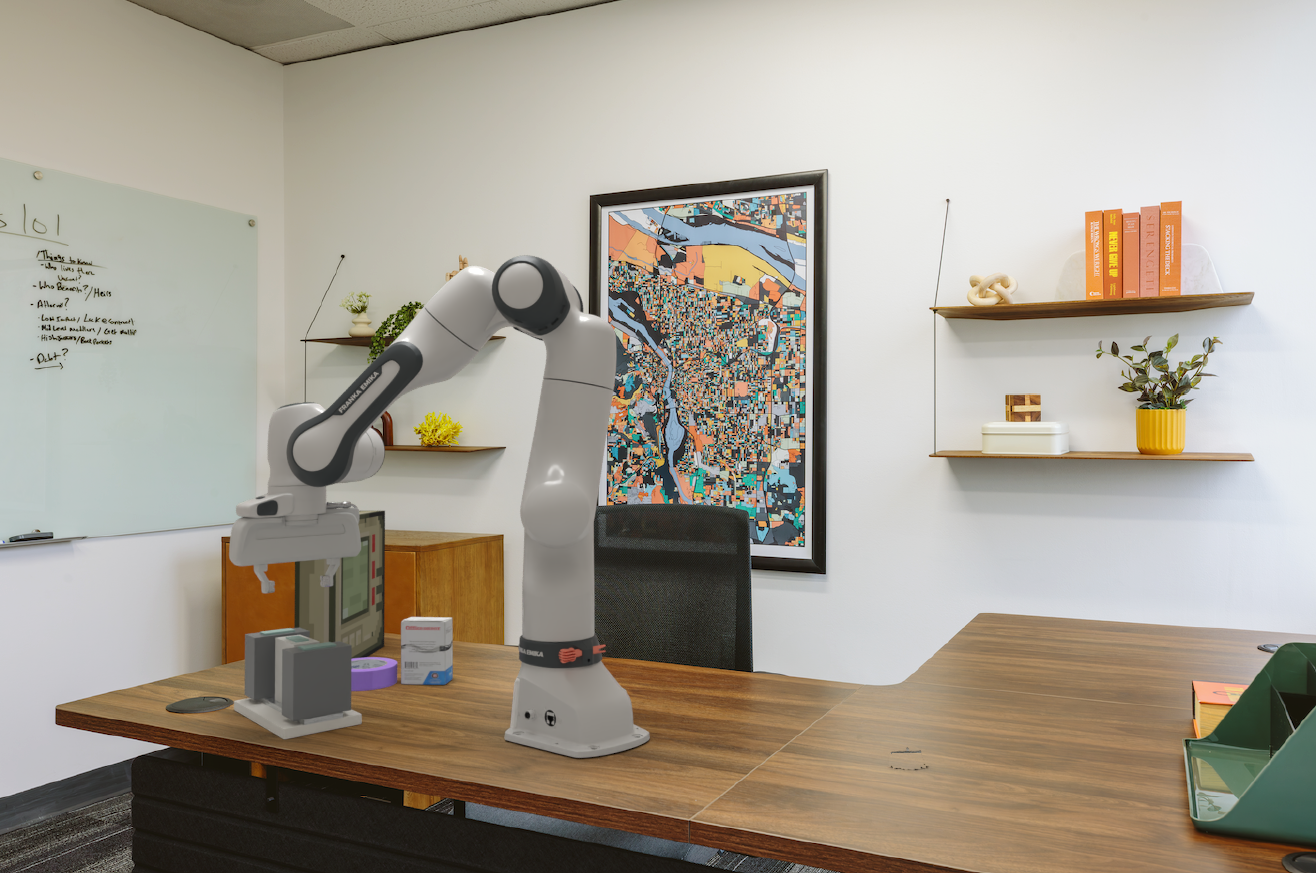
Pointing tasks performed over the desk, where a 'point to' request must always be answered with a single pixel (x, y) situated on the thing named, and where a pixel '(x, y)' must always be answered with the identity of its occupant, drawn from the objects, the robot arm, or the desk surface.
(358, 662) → the masking tape
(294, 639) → the block
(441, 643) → the ink box
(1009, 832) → the desk surface
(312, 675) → the mounted modules
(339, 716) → the rail
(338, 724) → the mounting board
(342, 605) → the control panel
